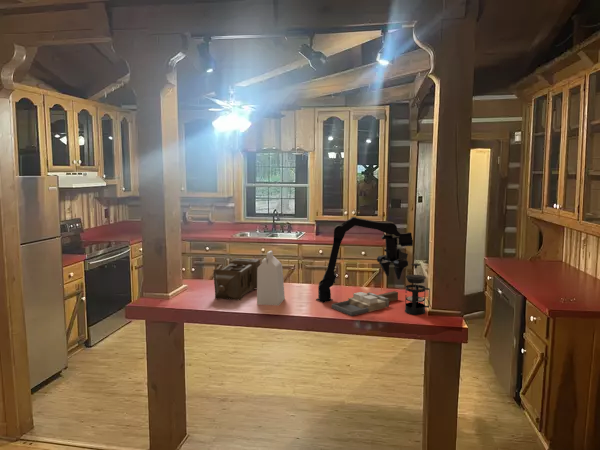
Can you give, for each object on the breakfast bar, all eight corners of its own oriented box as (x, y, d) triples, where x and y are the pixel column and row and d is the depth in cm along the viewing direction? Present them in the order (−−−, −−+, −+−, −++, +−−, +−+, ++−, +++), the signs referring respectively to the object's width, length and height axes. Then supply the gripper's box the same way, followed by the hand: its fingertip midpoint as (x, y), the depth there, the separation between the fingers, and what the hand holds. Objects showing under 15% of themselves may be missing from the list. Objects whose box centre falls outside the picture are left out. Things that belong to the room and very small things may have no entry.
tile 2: (362, 301, 221) (362, 296, 221) (370, 299, 224) (370, 295, 223) (369, 304, 217) (369, 299, 217) (377, 302, 220) (377, 297, 219)
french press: (401, 313, 212) (402, 265, 209) (404, 307, 220) (405, 261, 217) (428, 316, 207) (429, 266, 204) (430, 310, 216) (431, 262, 213)
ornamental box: (232, 311, 228) (235, 276, 224) (201, 304, 233) (203, 269, 229) (260, 291, 261) (263, 260, 257) (232, 285, 266) (235, 254, 262)
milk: (279, 305, 227) (277, 254, 224) (256, 304, 230) (255, 253, 226) (284, 298, 239) (283, 249, 235) (263, 297, 241) (262, 249, 238)
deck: (348, 304, 227) (348, 298, 227) (365, 300, 233) (365, 294, 233) (368, 311, 215) (368, 305, 215) (385, 307, 221) (385, 301, 220)
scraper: (367, 300, 233) (367, 292, 233) (386, 295, 241) (386, 288, 240) (386, 307, 222) (386, 299, 221) (406, 302, 229) (406, 294, 229)
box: (331, 308, 222) (331, 304, 222) (348, 304, 227) (348, 300, 227) (351, 316, 209) (351, 312, 209) (368, 312, 215) (368, 307, 215)
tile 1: (353, 298, 227) (353, 293, 227) (361, 296, 230) (361, 291, 229) (360, 300, 223) (360, 295, 222) (367, 298, 225) (367, 294, 225)
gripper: (416, 247, 222) (417, 278, 224) (393, 242, 239) (395, 271, 241) (397, 250, 218) (399, 282, 220) (375, 245, 235) (377, 275, 237)
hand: (393, 277), depth 230 cm, fingers open, 9 cm apart
